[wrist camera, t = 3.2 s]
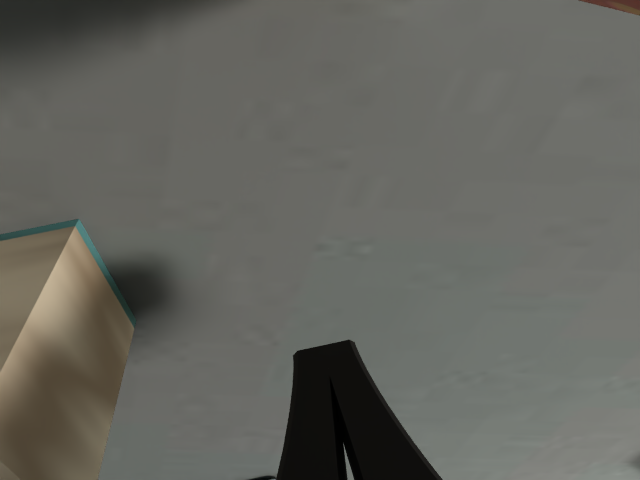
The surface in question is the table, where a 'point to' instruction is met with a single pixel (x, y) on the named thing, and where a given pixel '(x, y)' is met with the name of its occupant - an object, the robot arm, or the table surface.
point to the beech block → (58, 353)
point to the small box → (619, 5)
